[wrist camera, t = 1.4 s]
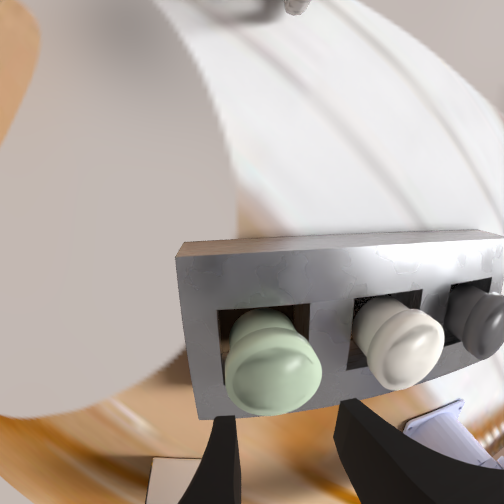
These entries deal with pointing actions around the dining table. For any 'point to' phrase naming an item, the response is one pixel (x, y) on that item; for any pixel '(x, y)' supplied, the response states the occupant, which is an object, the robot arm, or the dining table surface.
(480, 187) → the dining table surface
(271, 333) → the sage key
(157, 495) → the medicine bottle
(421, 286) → the key console
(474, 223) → the dining table surface
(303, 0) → the mug
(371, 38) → the dining table surface
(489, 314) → the grey rounded knob
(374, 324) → the ivory key
